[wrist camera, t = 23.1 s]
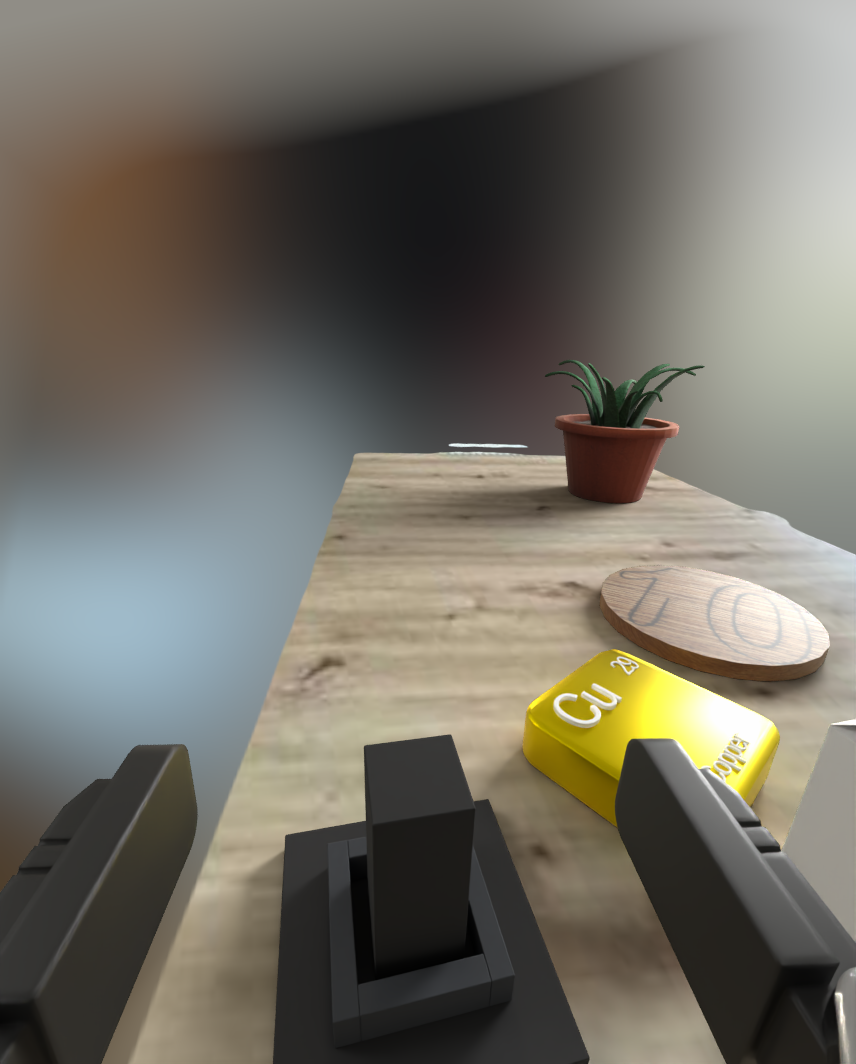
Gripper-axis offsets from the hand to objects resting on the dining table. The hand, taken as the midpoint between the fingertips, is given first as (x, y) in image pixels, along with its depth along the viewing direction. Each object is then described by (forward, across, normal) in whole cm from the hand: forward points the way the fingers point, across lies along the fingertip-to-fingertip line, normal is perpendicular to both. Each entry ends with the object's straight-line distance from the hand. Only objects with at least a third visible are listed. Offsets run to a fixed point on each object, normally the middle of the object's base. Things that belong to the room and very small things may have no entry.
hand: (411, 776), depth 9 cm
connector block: (+11, -1, +22) cm, 25 cm away
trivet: (+46, -39, +23) cm, 64 cm away
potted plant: (+107, -51, +22) cm, 121 cm away
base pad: (+11, -1, +24) cm, 26 cm away
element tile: (+23, -20, +24) cm, 39 cm away
